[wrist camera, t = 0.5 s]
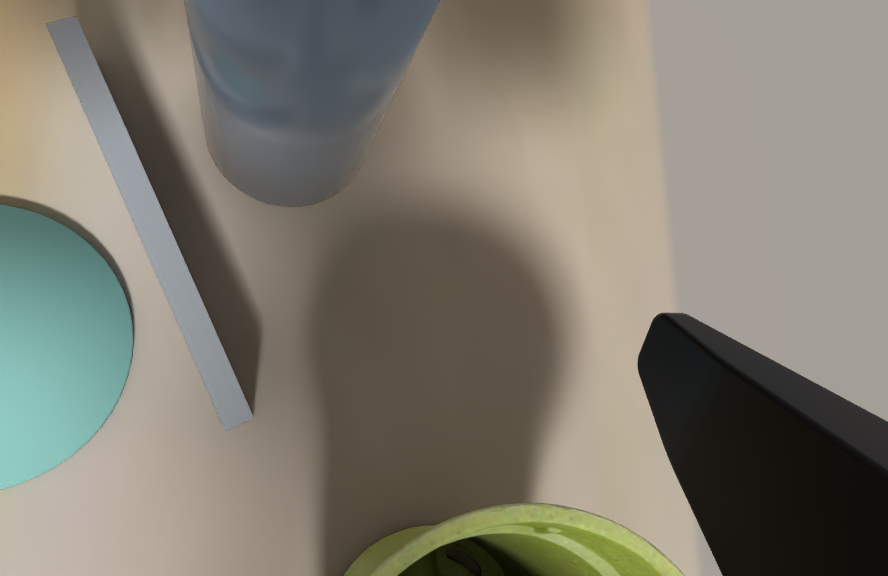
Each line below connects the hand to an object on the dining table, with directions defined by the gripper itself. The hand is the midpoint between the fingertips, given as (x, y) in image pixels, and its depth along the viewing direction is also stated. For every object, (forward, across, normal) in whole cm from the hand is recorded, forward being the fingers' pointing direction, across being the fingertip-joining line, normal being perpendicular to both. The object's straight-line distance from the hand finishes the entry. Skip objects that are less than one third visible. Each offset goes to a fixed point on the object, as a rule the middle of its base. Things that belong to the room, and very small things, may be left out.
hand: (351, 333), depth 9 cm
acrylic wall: (+12, +4, +6) cm, 14 cm away
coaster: (+10, +9, +8) cm, 16 cm away
